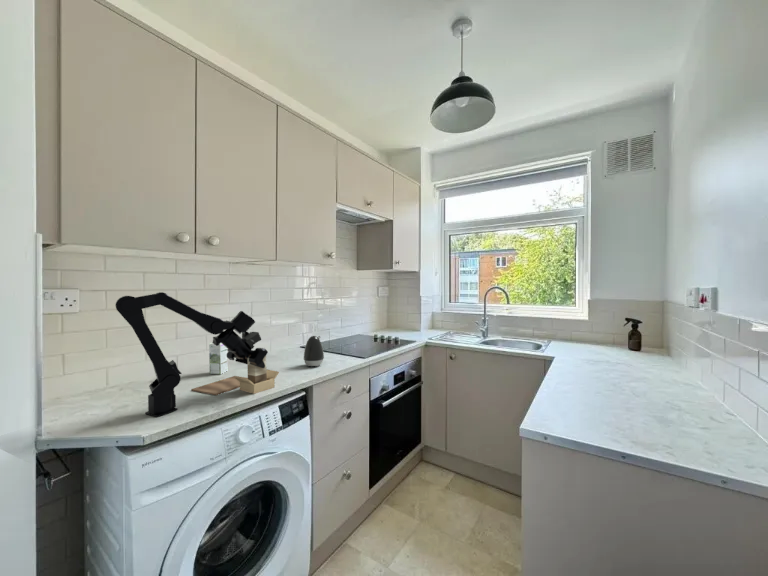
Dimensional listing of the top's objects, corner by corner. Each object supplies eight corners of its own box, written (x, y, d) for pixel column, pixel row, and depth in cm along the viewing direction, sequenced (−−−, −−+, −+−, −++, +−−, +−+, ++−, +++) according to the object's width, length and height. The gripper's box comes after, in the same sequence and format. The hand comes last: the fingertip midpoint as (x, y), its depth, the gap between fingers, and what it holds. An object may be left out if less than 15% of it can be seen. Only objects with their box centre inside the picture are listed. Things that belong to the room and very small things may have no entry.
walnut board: (216, 395, 117) (216, 393, 117) (191, 390, 123) (191, 389, 123) (258, 380, 136) (258, 379, 136) (234, 377, 141) (234, 375, 141)
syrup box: (228, 371, 151) (227, 341, 151) (220, 374, 145) (220, 343, 145) (216, 371, 152) (216, 341, 152) (208, 374, 146) (208, 343, 146)
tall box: (255, 389, 121) (254, 352, 122) (247, 387, 124) (247, 351, 124) (266, 385, 125) (266, 350, 126) (259, 384, 128) (258, 349, 129)
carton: (248, 395, 117) (248, 380, 117) (234, 391, 122) (233, 376, 122) (279, 385, 128) (279, 371, 128) (264, 382, 133) (264, 368, 133)
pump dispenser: (328, 364, 164) (327, 334, 164) (316, 369, 154) (315, 337, 154) (312, 362, 168) (311, 333, 168) (299, 367, 159) (299, 336, 159)
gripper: (263, 327, 117) (287, 351, 126) (233, 324, 127) (257, 347, 136) (243, 352, 110) (270, 376, 119) (214, 347, 120) (241, 369, 129)
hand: (260, 366), depth 126 cm, fingers closed on tall box, 5 cm apart
